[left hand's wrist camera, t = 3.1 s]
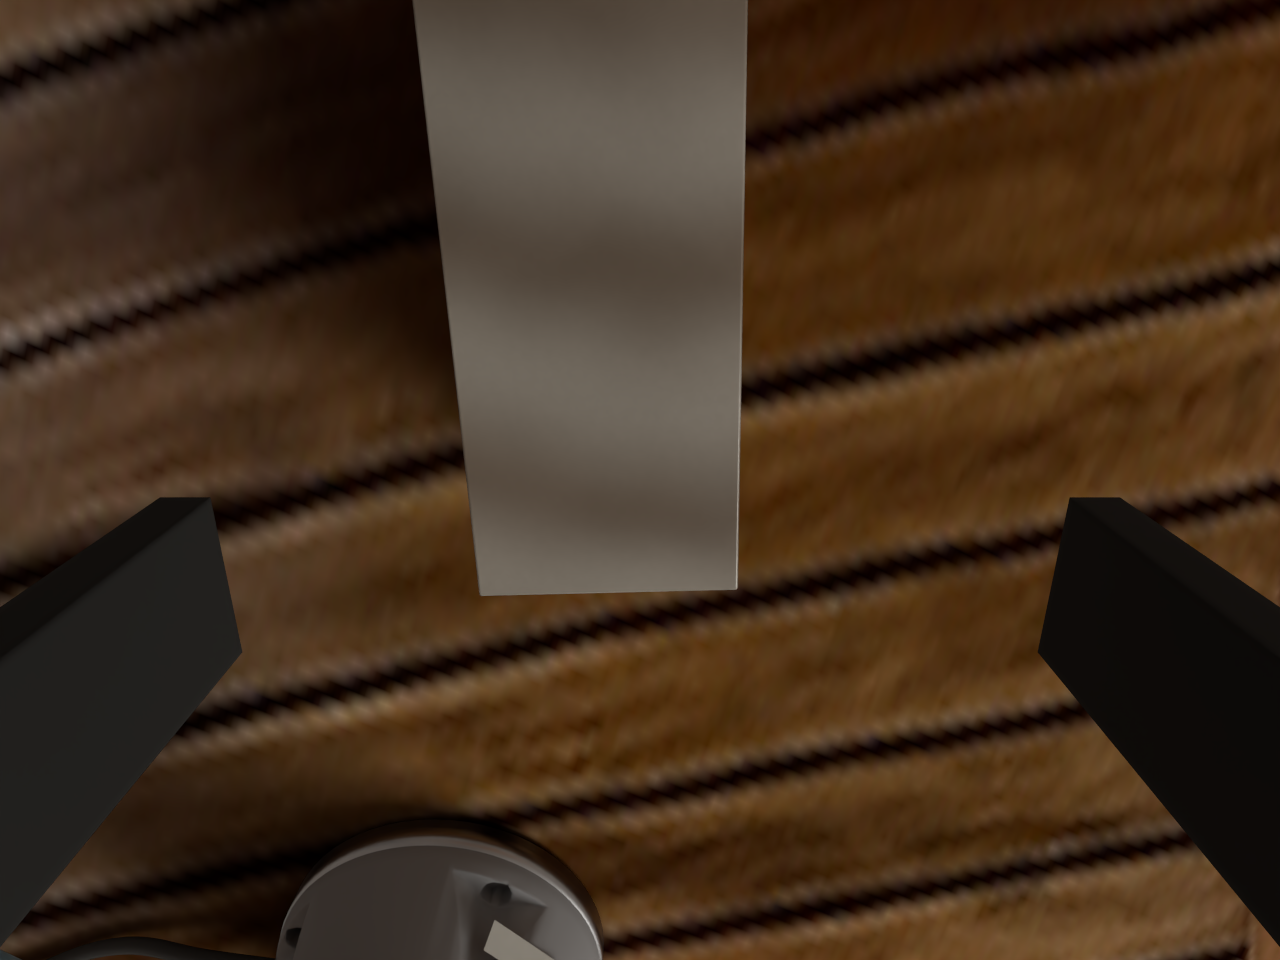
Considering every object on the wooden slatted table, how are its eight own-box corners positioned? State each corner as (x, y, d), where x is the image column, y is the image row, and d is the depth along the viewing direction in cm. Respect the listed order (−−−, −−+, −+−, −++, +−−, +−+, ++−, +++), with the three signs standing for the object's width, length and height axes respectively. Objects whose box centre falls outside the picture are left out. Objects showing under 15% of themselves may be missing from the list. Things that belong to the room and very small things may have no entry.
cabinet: (486, -75, 25) (384, -235, 15) (707, -82, 25) (752, -249, 15) (530, 460, 31) (478, 596, 21) (707, 455, 31) (737, 590, 21)
